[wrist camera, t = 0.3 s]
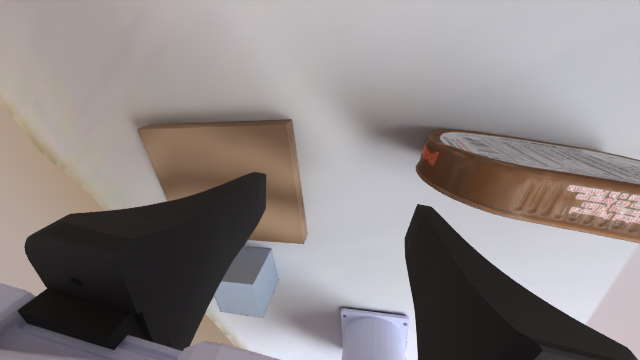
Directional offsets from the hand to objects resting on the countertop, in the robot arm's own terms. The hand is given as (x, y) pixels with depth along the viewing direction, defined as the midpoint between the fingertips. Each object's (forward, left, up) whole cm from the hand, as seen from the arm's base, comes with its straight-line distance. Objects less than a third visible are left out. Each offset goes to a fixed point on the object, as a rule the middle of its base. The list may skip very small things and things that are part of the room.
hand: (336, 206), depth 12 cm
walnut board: (-4, +12, -10) cm, 16 cm away
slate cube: (-15, +12, -10) cm, 22 cm away
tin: (-1, -12, -10) cm, 16 cm away
